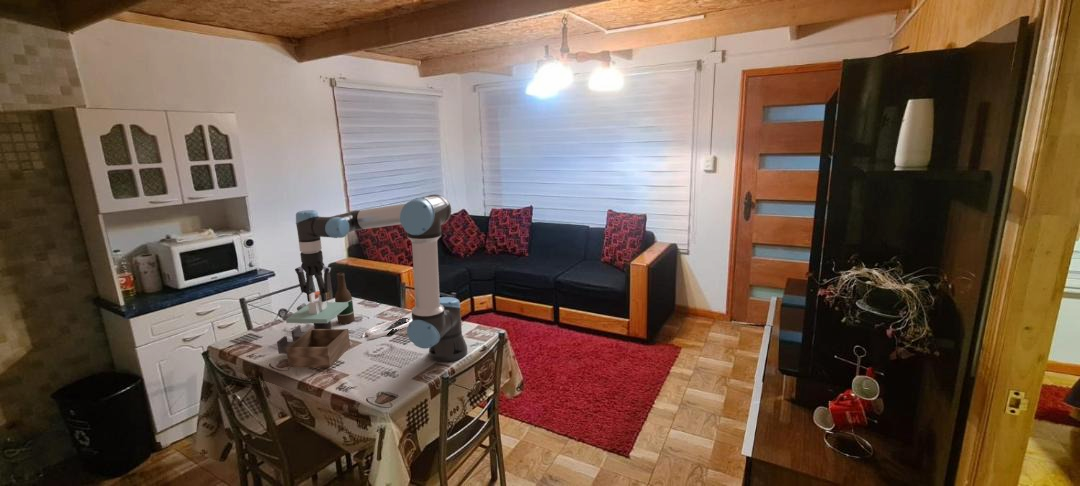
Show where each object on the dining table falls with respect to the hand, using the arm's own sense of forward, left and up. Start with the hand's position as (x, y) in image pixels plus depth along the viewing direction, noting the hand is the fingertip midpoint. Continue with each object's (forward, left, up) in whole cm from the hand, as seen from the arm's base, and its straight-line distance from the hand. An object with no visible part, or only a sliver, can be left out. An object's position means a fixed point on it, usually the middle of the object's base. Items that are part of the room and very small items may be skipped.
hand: (318, 309), depth 184 cm
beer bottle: (+7, -36, -20) cm, 42 cm away
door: (+1, 0, -2) cm, 2 cm away
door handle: (-17, -27, -21) cm, 38 cm away
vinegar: (+10, -20, -20) cm, 31 cm away
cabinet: (+3, 0, -20) cm, 20 cm away
